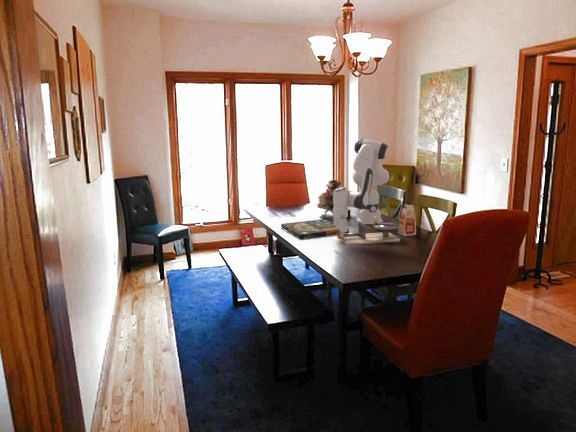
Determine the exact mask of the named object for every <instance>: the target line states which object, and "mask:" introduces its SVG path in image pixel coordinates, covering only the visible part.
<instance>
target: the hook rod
mask: <svg viewBox="0 0 576 432" xmlns="http://www.w3.org/2000/svg"><path fill="white" fill-rule="evenodd" d="M355 236H362V233H359V232H351V233H350V232H349V233H346V234H343V237H340V230H337V235H336V238H337V239H338V240H340V239H344V237H355Z"/></svg>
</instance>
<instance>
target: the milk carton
mask: <svg viewBox="0 0 576 432" xmlns="http://www.w3.org/2000/svg"><path fill="white" fill-rule="evenodd" d="M415 213H416V212H415V208H414V205H413V204H408V203H407V204H406V203H404V205H403V207H402V210H401V214H400V216H399V217H400V218H399V222H398V228H397V230H398V231H397V234H400V235H402V236H403V237H409V236H414V235H415V236H416V235H417V223H416V214H415Z"/></svg>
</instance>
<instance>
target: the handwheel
mask: <svg viewBox="0 0 576 432" xmlns="http://www.w3.org/2000/svg"><path fill="white" fill-rule="evenodd" d="M372 225H373V228H374V229H377V230H382V231H383V230H389V231H392V230H393V231H394V230H398V228H399V224H397V223H393V222H381V223H377V217H373V224H372Z"/></svg>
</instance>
